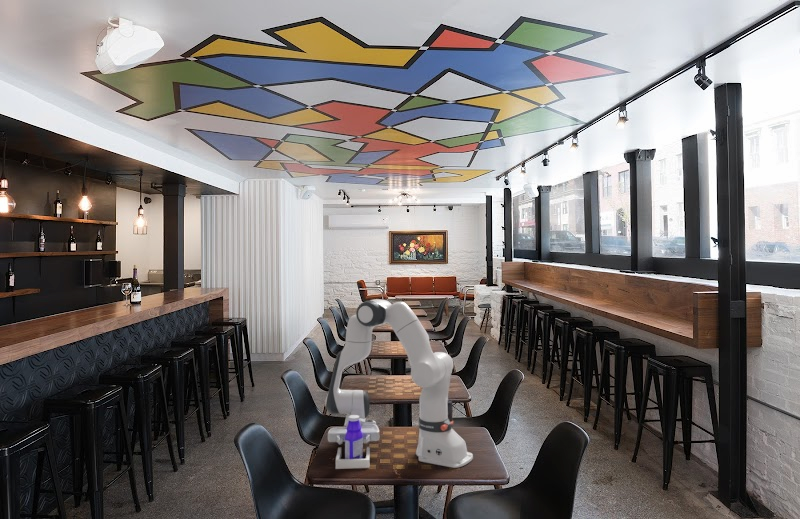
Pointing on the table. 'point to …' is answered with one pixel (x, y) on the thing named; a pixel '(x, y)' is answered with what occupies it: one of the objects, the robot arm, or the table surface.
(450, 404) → the camera lens
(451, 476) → the table surface
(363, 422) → the robot arm
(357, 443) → the bottle
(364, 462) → the bottle holder
